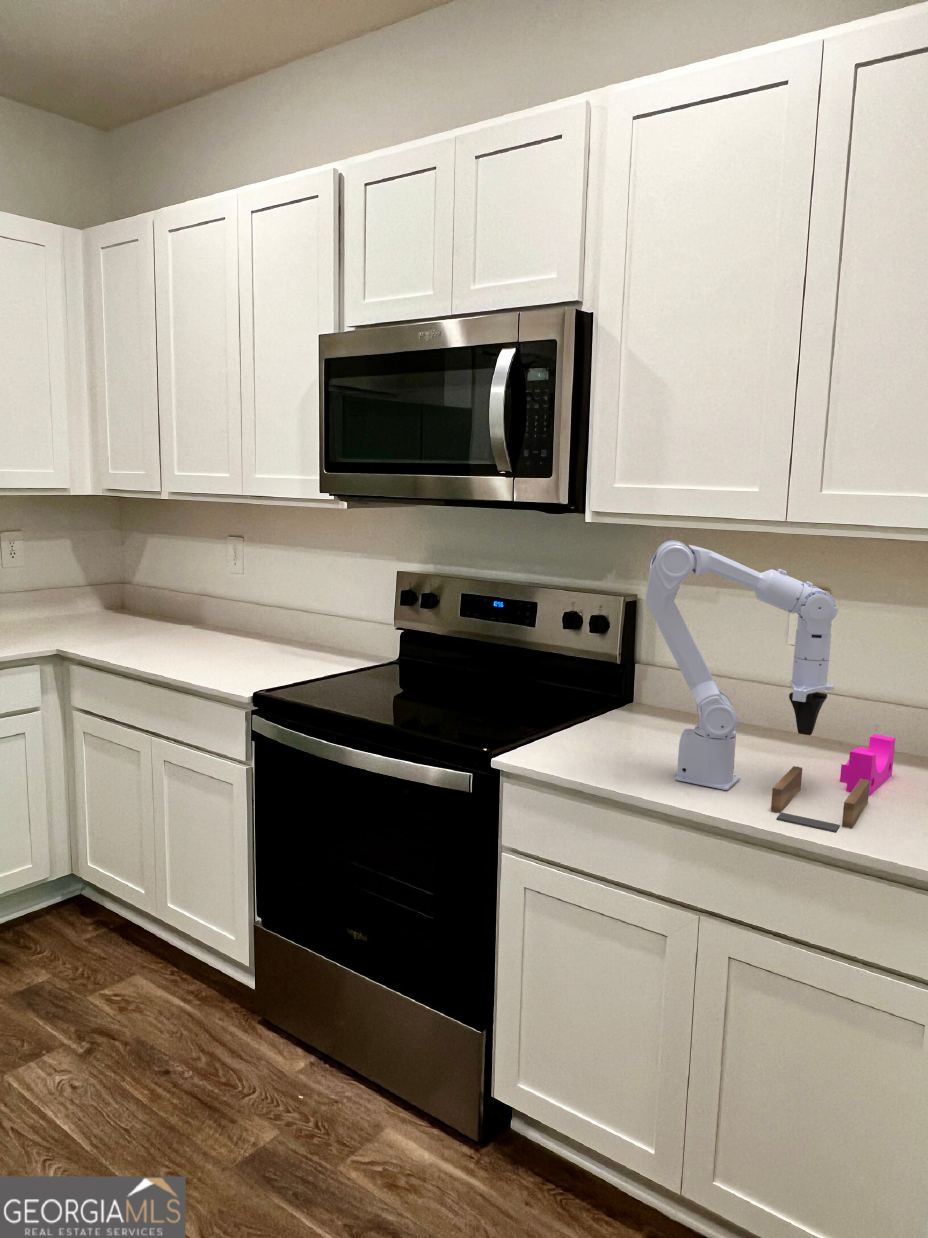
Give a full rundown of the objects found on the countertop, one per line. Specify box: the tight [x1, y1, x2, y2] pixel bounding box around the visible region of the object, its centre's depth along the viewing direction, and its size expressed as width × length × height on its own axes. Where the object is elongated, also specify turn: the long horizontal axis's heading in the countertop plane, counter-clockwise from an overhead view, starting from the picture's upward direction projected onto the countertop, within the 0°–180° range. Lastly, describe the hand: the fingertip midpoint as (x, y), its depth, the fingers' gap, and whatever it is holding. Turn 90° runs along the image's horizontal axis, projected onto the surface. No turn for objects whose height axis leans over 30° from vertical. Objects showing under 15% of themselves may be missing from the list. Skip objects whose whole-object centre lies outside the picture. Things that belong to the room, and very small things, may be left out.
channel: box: [770, 765, 870, 829], centre depth 150 cm, size 12×14×4 cm
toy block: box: [839, 733, 896, 798], centre depth 163 cm, size 15×6×8 cm, turn 141°
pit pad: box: [776, 811, 841, 833], centre depth 143 cm, size 9×3×1 cm, turn 57°
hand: (805, 733), depth 158 cm, fingers closed
